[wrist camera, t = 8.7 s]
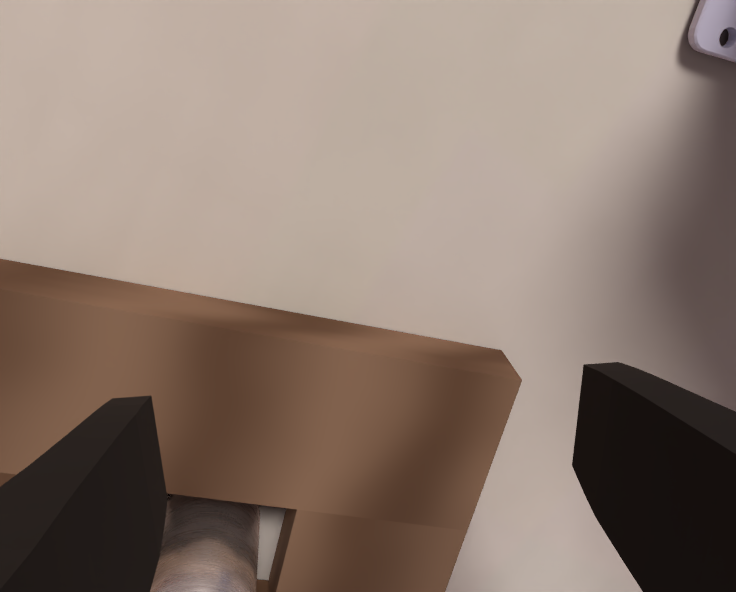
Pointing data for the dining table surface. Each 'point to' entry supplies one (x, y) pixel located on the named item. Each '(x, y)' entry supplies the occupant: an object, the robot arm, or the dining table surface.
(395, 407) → the walnut plate
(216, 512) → the steel roller
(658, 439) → the robot arm
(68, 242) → the dining table surface
